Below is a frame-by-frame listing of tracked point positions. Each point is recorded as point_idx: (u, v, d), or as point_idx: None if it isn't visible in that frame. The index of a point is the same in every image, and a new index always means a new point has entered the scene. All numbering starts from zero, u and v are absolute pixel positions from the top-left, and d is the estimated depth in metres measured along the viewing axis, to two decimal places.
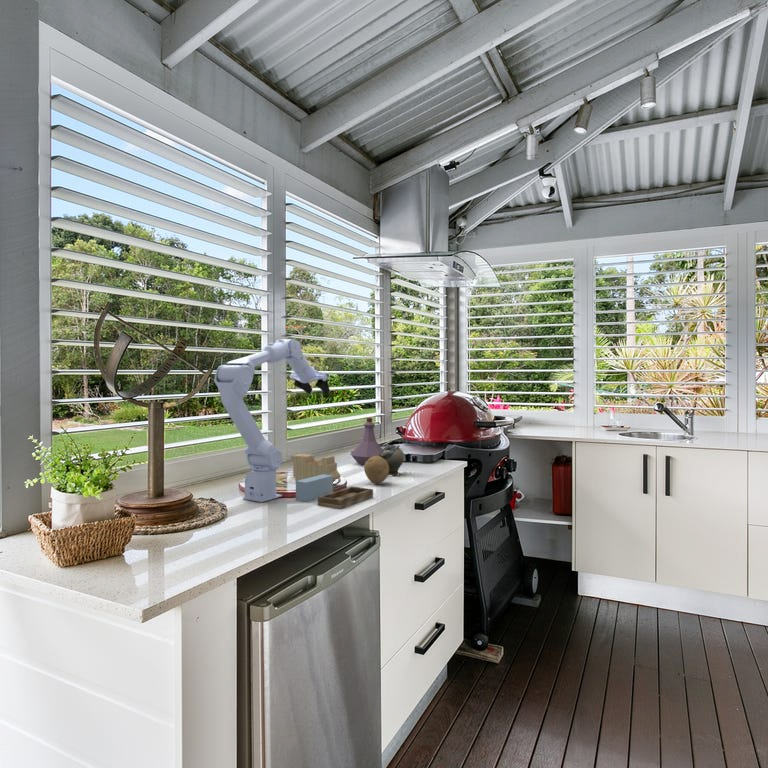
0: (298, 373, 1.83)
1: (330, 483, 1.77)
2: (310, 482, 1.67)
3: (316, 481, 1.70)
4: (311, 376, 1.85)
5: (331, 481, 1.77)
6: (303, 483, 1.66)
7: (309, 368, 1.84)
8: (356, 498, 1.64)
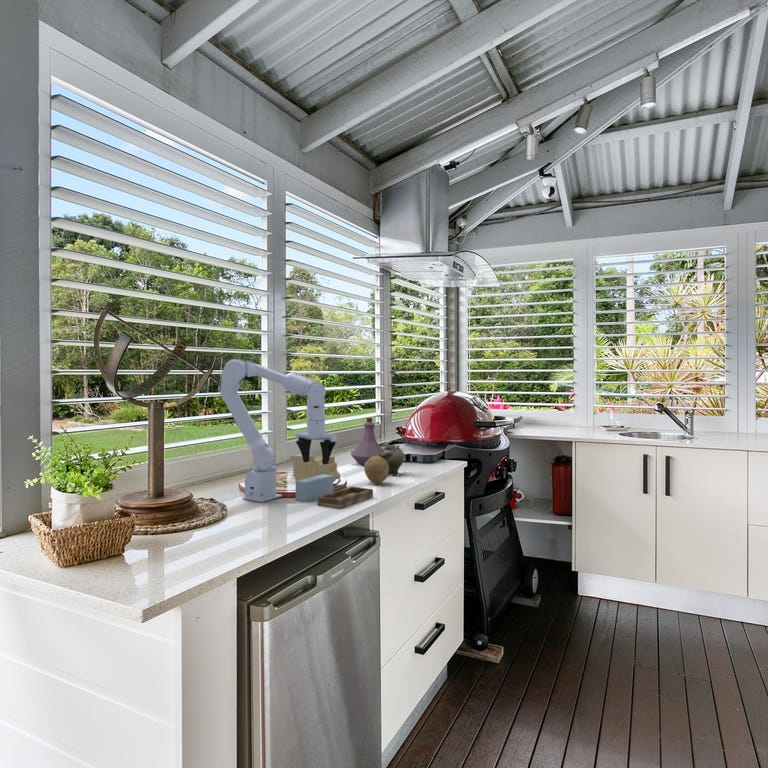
0: (310, 421, 1.70)
1: (330, 483, 1.77)
2: (310, 482, 1.67)
3: (316, 481, 1.70)
4: (320, 433, 1.70)
5: (331, 481, 1.77)
6: (303, 483, 1.66)
7: (323, 424, 1.71)
8: (356, 498, 1.64)
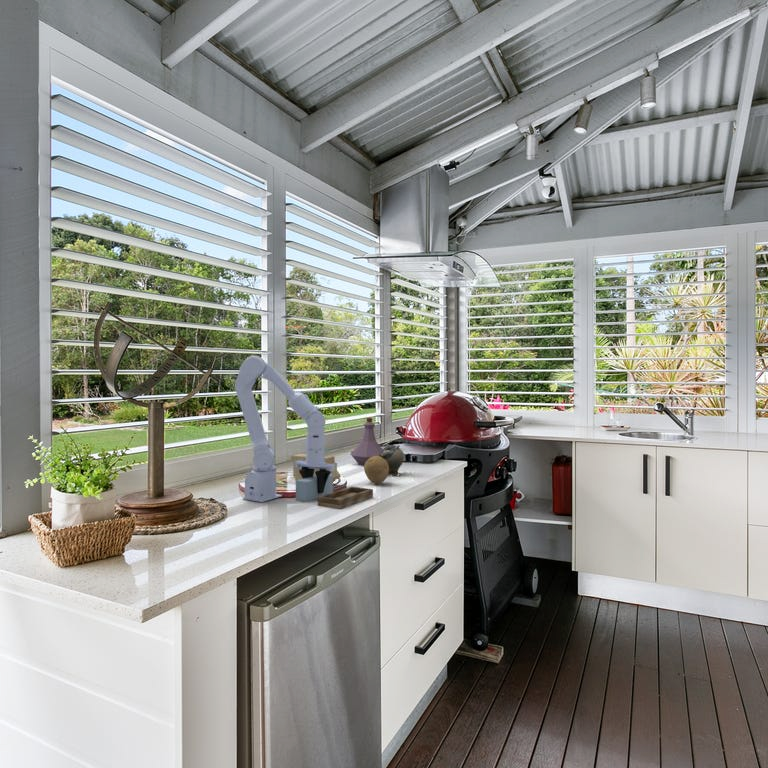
0: (310, 451, 1.70)
1: (330, 483, 1.77)
2: (310, 482, 1.67)
3: (316, 481, 1.70)
4: (320, 462, 1.70)
5: (331, 481, 1.77)
6: (303, 483, 1.66)
7: (322, 453, 1.71)
8: (356, 498, 1.64)
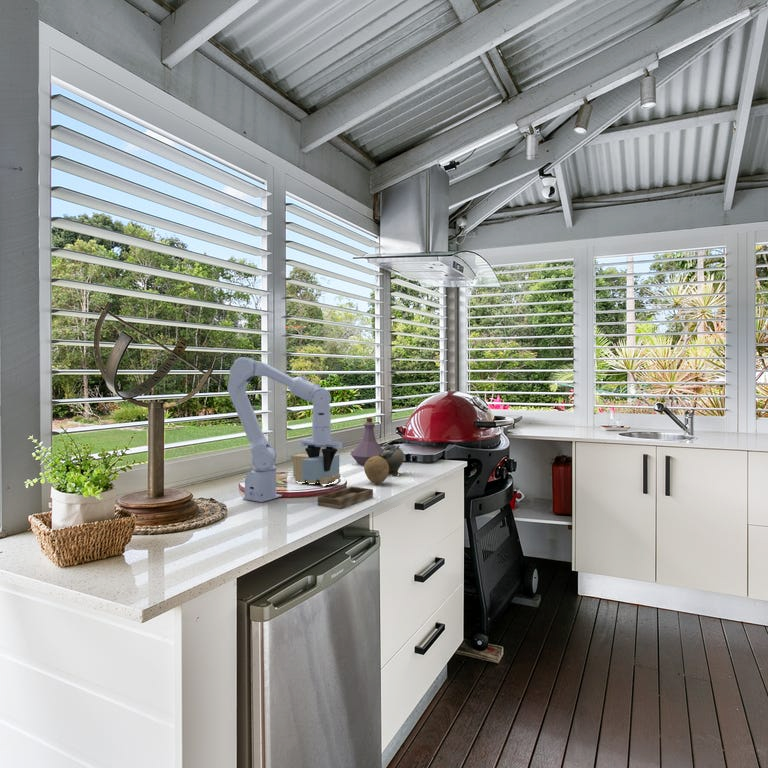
0: (316, 429, 1.69)
1: (337, 463, 1.76)
2: (317, 460, 1.66)
3: (323, 460, 1.69)
4: (326, 440, 1.69)
5: (337, 460, 1.76)
6: (310, 461, 1.65)
7: (329, 431, 1.70)
8: (356, 498, 1.64)
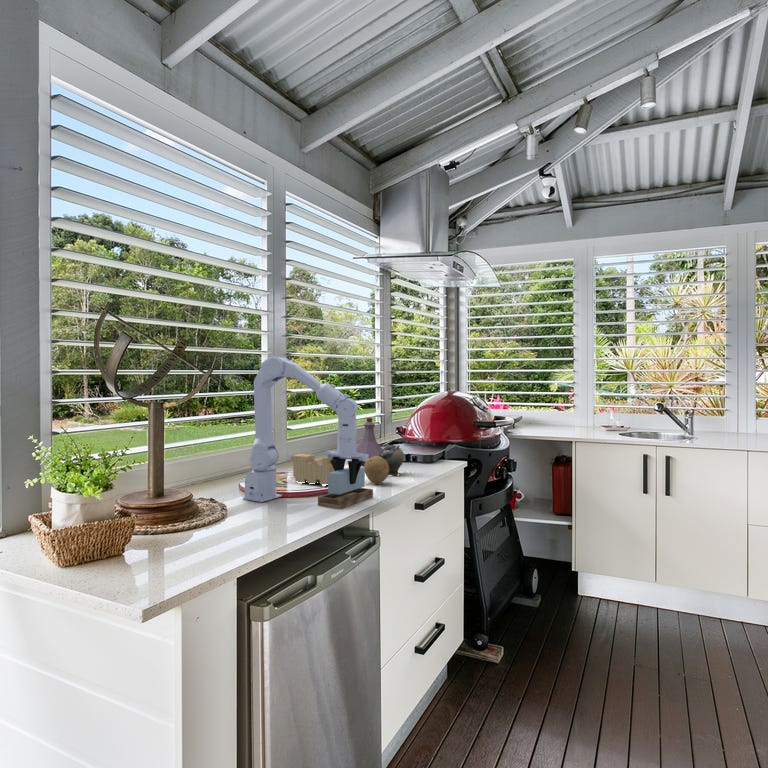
0: (342, 440, 1.64)
1: (362, 476, 1.71)
2: (343, 474, 1.61)
3: (349, 473, 1.64)
4: (352, 452, 1.64)
5: (363, 473, 1.71)
6: (336, 475, 1.60)
7: (355, 442, 1.65)
8: (356, 498, 1.64)
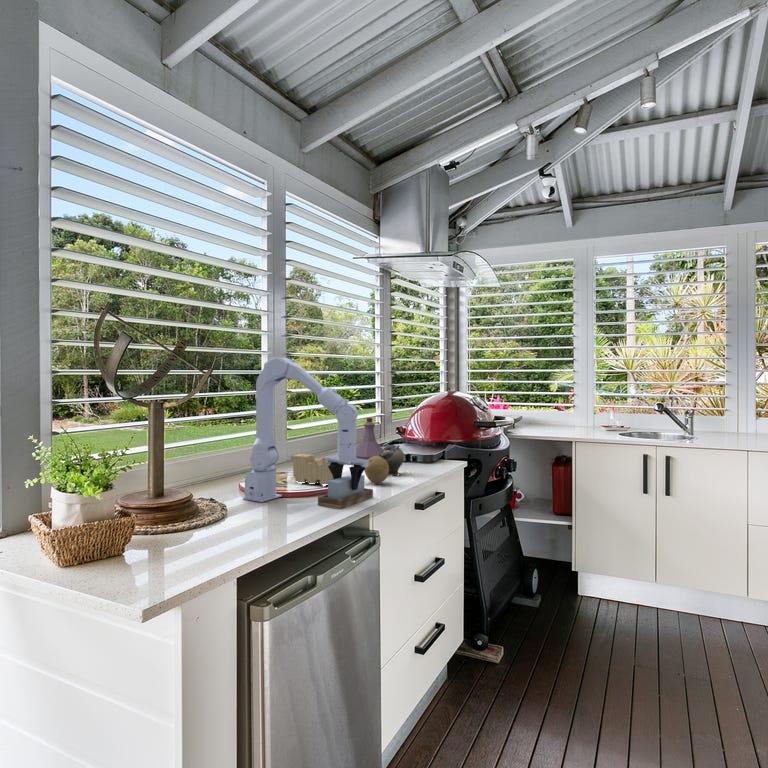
0: (342, 446, 1.64)
1: (362, 484, 1.71)
2: (343, 482, 1.62)
3: (348, 481, 1.64)
4: (352, 457, 1.64)
5: (363, 481, 1.71)
6: (336, 483, 1.60)
7: (354, 448, 1.65)
8: (356, 498, 1.64)
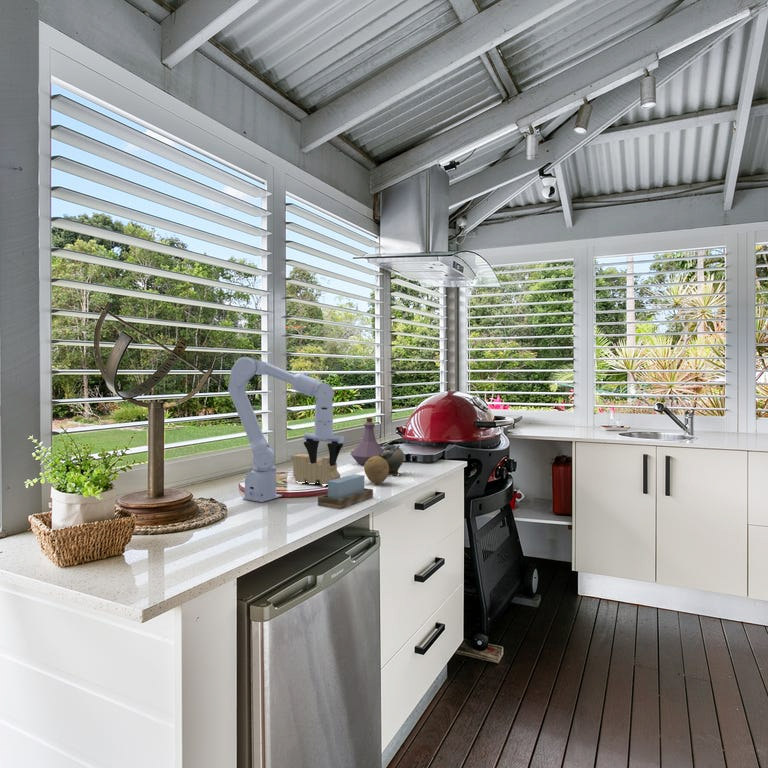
0: (318, 423, 1.70)
1: (362, 484, 1.71)
2: (343, 482, 1.62)
3: (348, 481, 1.64)
4: (328, 434, 1.71)
5: (363, 481, 1.71)
6: (336, 483, 1.60)
7: (331, 425, 1.72)
8: (356, 498, 1.64)
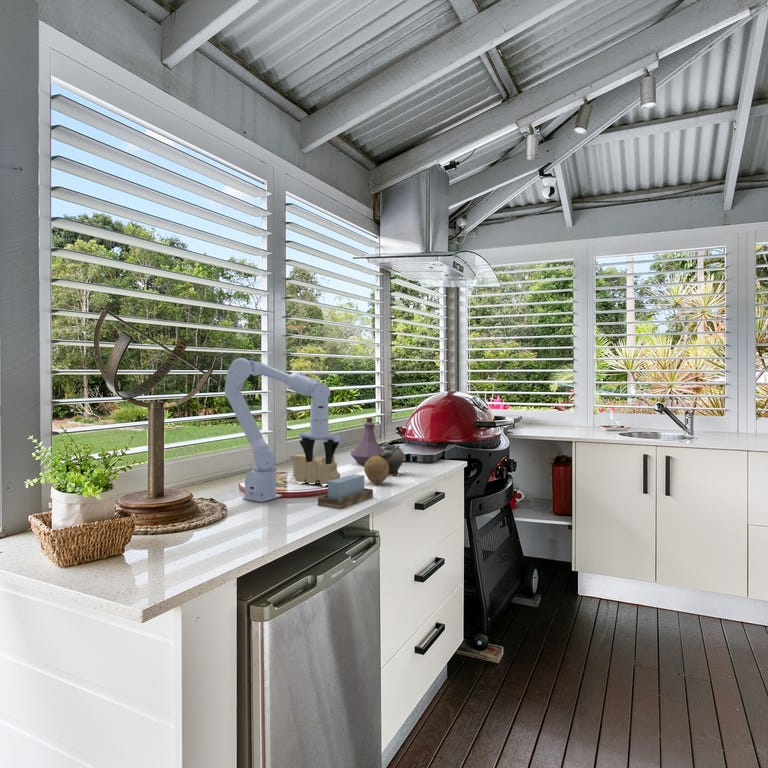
0: (314, 422, 1.72)
1: (362, 484, 1.71)
2: (343, 482, 1.62)
3: (348, 481, 1.64)
4: (324, 433, 1.72)
5: (363, 481, 1.71)
6: (336, 483, 1.60)
7: (326, 424, 1.73)
8: (356, 498, 1.64)
